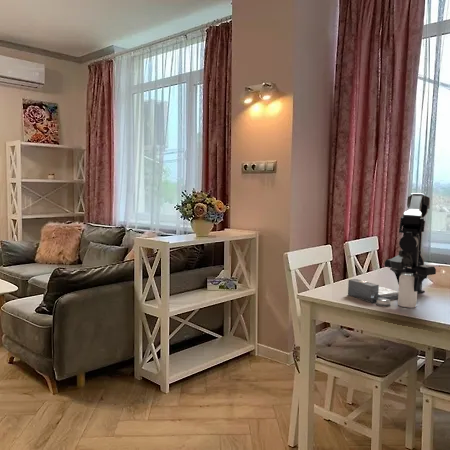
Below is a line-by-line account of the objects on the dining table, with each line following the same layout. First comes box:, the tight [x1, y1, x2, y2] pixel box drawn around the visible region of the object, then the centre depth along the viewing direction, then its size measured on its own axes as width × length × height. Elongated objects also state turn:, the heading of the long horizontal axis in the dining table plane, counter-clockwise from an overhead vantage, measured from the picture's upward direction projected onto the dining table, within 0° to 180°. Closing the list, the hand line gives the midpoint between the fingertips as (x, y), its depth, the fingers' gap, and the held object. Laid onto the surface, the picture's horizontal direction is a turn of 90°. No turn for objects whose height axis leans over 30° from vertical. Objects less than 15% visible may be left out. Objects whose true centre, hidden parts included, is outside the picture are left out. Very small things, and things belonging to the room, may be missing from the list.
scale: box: [347, 278, 398, 304], centre depth 187 cm, size 16×13×7 cm
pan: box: [378, 286, 399, 297], centre depth 188 cm, size 11×11×1 cm
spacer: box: [375, 298, 391, 307], centre depth 175 cm, size 5×5×2 cm
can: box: [397, 273, 418, 309], centre depth 174 cm, size 6×6×12 cm
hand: (407, 289), depth 174 cm, fingers closed on can, 6 cm apart
